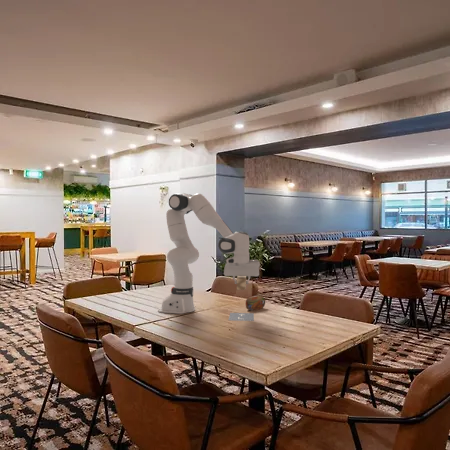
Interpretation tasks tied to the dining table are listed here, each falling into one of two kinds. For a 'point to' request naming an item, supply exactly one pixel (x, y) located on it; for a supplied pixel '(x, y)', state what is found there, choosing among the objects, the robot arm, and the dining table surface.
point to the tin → (255, 303)
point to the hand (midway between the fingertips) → (241, 283)
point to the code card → (241, 316)
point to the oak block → (241, 282)
